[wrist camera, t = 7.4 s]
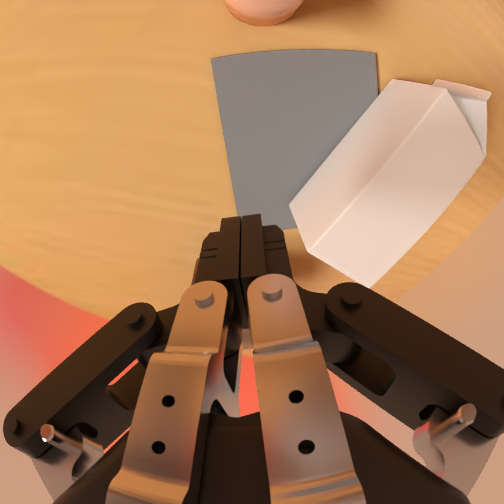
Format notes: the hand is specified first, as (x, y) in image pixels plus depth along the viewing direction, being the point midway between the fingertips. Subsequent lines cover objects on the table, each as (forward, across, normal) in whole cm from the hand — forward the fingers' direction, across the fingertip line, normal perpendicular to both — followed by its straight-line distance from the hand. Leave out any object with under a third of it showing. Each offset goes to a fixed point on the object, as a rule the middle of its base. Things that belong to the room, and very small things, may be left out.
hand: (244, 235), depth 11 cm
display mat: (+13, -5, 0) cm, 14 cm away
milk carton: (+9, -6, +8) cm, 13 cm away
